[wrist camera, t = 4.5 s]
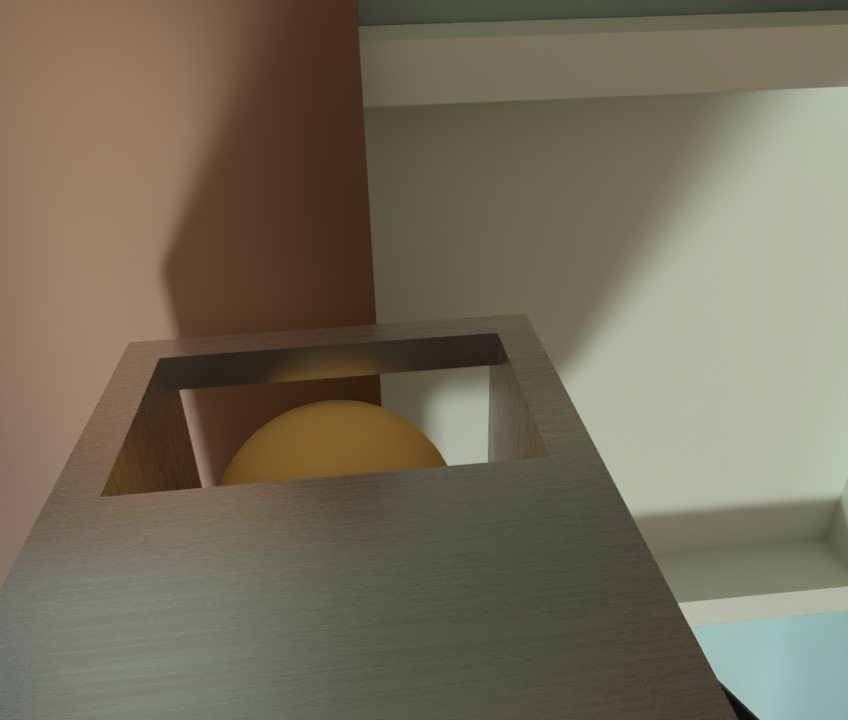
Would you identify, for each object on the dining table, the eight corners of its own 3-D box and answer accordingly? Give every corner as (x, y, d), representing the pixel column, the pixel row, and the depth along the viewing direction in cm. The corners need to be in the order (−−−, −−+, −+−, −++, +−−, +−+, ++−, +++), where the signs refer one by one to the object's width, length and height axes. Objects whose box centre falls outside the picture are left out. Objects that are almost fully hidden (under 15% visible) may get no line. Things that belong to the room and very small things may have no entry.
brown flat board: (350, -50, 10) (353, -48, 8) (393, 612, 17) (400, 706, 15) (-561, -27, 9) (-826, -18, 7) (-126, 662, 17) (-197, 769, 14)
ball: (243, 557, 7) (160, 399, 10) (282, 761, 9) (203, 580, 12) (517, 445, 9) (383, 334, 11) (507, 637, 11) (392, 504, 13)
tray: (1029, 4, 12) (1147, 14, 10) (833, 542, 18) (886, 607, 16) (356, 25, 11) (358, 41, 9) (391, 583, 17) (396, 656, 15)
